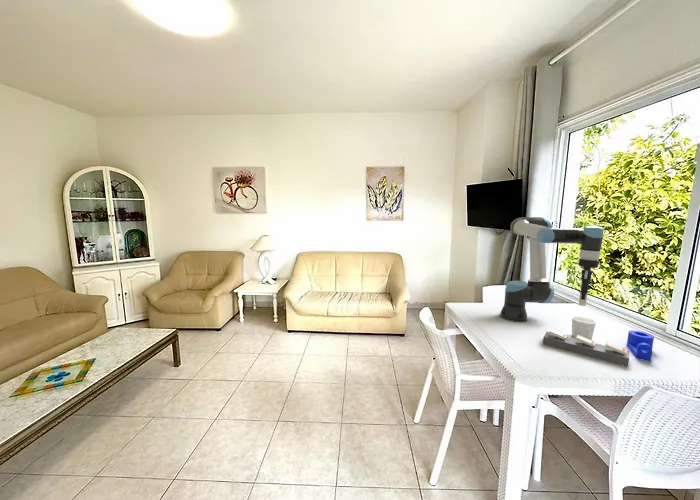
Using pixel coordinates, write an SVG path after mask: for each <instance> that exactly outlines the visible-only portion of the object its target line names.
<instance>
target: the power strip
mask: <svg viewBox="0 0 700 500" xmlns="http://www.w3.org/2000/svg"><path fill="white" fill-rule="evenodd" d="M549 332H550V331H546V332H545V334H544V336H543V338H542V345H543V346H548V347H552V348H555V349H559V350H562V351H567V352H571V353H574V354H577V355H582V356H586V357H588V358H593V359H597V360H601V361H604V362H607V363H610V364H611V363H612V364H615V365H619V366H622V365H624V366H623V367H626V366H628V367H629V364H630V363H629V361H630V352H629V351H630V350H629V351H628V350H626V354H625V355H624V354H622V353H619V352H617V351H614V350H612V349H609V348H607V347H605V346H606V344H604V345H603V344H601V343H600V344H599V343H596V342H595V345H594V347H592V346H589V345H587V344H585V343H583V342H580V341H578V340H576V338H574V337H572V336H566V339H565V340H564V339H561V338H559V337H557V336H554V335H552V334H550V333H549Z"/></svg>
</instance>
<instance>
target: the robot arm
mask: <svg viewBox="0 0 700 500" xmlns="http://www.w3.org/2000/svg"><path fill="white" fill-rule="evenodd" d="M510 231H511V233H513V234H515V235H518V236H526V239H527V241H529V277H530V278H529V279H528V280H527V281H525V280H524V281H523V280H510V281H507V283H506V284H505V290H504V291H505V292H504V303H503V304H504V305H502V308H501V310H500V317H501V318H503V319H504V320H508V321H510V322H519V323H521V322H526V321H528V313H527V309H526V303H534V304H535V303H536V304H548V303H550V302H551V301H552V300H553V299H554V296H555V289H554V286H553V285H552V284H551V283H550V280H549V279H547V256H546V255H547V254H546V253H547V251H546V245H547V244H578V245H580V248H579V255H578V256H579V259H578V264H577V265H578V266H579V267H583V268H582V269H581V285H580V290H579V291H578V293H579V300H578V306H582V307H587V306H586V305H587V300H588V294H589V293H590V291H589V283H590V281H591V278H592V275H593V270H592V269H598V268H599V263H600V260H599V259H600V258H601V257H600V256H602V252H601V249H602V244H603V239H604V227H602V226H593V225H591V226H590V225H589V226H587V225H586V226H584V227H583V228H579V227H569V228H556V227H555V228H553V223H552V221H551V220H550V218H548V217H542V216H537V217H536V216H535V217H534V216H533V217H532V216H528V217H527V216H526V217H525V216H524V217H523V216H522V217H517V218H516V219H514V220H513V221H511V223H510Z"/></svg>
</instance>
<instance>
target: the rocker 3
mask: <svg viewBox="0 0 700 500" xmlns="http://www.w3.org/2000/svg"><path fill="white" fill-rule="evenodd" d="M605 347H607V348H609V349H612V350H614V351H617V352H619V353H622V354H624V355H625V354H626V351H627V349H626V348H623V347H621V346H618V345H616V344H614V343H611V342H609V341H606V342H605Z"/></svg>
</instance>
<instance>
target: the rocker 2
mask: <svg viewBox="0 0 700 500" xmlns="http://www.w3.org/2000/svg"><path fill="white" fill-rule="evenodd" d="M575 339H576V340H578V341H580V342H583V343H585V344H587V345H589V346H592V347H594V345H595V343H596V342H595V341H593V339H592V340H589V339H587V338H584V337H582V336H580V335H577V337H576V338H575Z"/></svg>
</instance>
